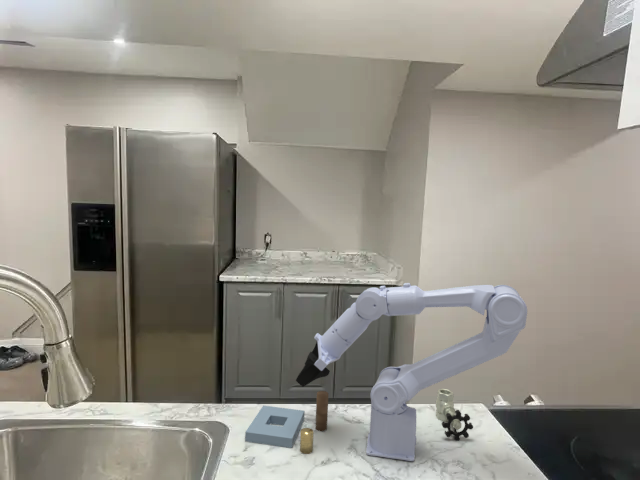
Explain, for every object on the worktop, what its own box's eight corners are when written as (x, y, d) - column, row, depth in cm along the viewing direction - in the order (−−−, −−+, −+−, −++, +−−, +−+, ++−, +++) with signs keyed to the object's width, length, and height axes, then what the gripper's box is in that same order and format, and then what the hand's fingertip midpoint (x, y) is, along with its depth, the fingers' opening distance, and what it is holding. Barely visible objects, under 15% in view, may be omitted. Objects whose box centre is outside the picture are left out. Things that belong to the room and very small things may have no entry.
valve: (427, 413, 101) (441, 440, 89) (429, 387, 101) (443, 411, 89) (454, 414, 101) (472, 441, 89) (456, 388, 101) (474, 412, 89)
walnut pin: (327, 426, 93) (329, 391, 93) (325, 432, 91) (327, 396, 90) (316, 424, 94) (317, 390, 93) (314, 430, 91) (315, 395, 91)
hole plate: (304, 419, 96) (304, 410, 96) (291, 447, 84) (292, 438, 84) (263, 413, 98) (263, 405, 97) (245, 441, 86) (245, 431, 86)
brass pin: (313, 447, 85) (314, 428, 84) (311, 454, 82) (312, 435, 82) (301, 445, 85) (302, 427, 85) (298, 453, 83) (299, 433, 82)
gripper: (335, 309, 95) (299, 348, 98) (322, 333, 81) (280, 378, 84) (358, 329, 94) (321, 368, 98) (349, 357, 80) (306, 401, 84)
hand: (304, 374), depth 91 cm, fingers open, 7 cm apart
